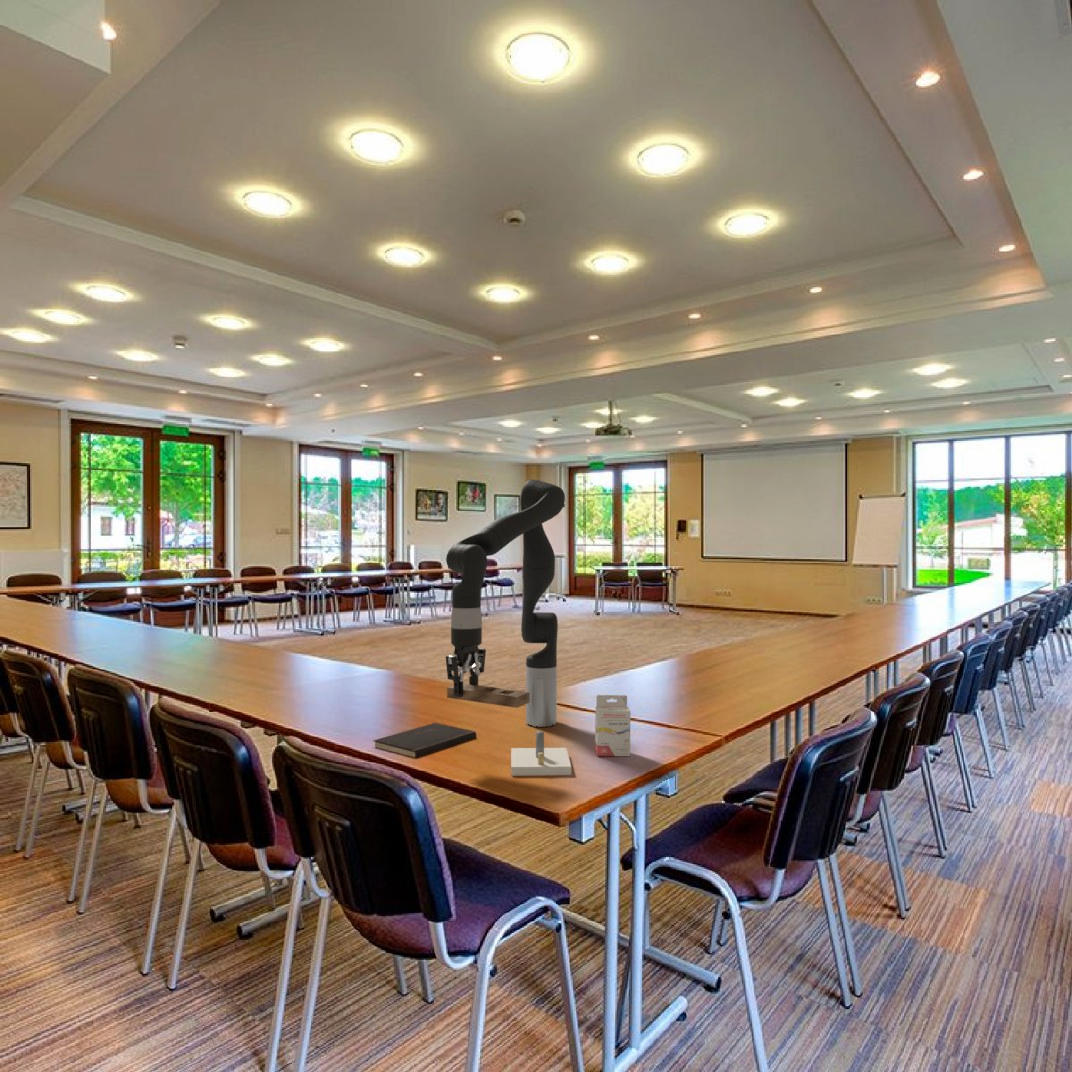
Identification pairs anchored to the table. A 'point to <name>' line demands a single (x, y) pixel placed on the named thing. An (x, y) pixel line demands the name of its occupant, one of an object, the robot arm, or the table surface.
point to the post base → (540, 760)
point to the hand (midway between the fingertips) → (466, 693)
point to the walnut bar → (491, 695)
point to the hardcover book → (424, 739)
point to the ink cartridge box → (612, 726)
